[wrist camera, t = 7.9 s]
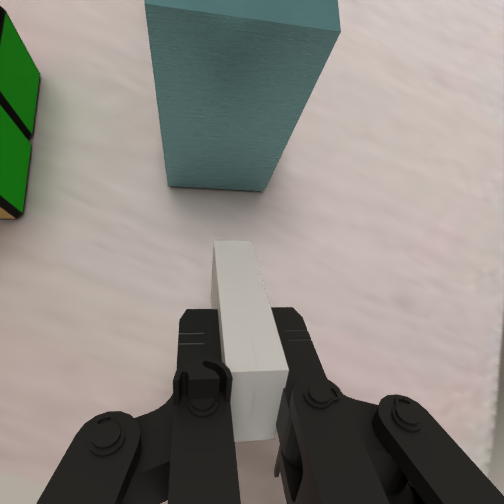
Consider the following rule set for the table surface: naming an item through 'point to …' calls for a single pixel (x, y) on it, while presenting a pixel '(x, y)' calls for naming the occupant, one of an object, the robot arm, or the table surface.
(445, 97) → the table surface
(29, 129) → the puzzle cube
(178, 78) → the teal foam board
